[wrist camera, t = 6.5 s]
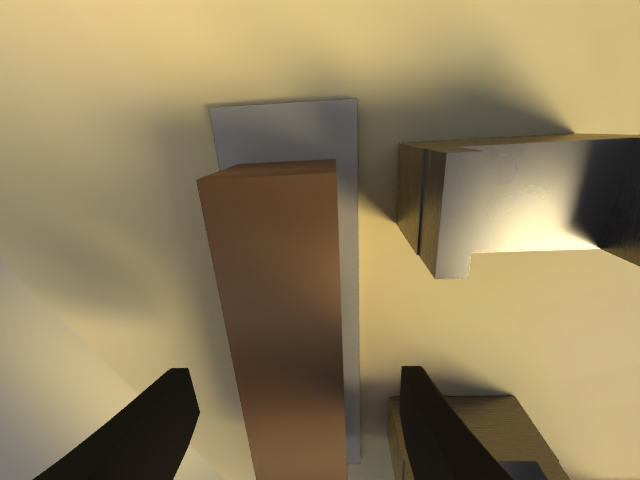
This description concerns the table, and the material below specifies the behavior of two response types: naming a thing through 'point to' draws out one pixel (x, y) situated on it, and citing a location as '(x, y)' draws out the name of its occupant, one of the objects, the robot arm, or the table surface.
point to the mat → (340, 144)
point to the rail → (282, 310)
